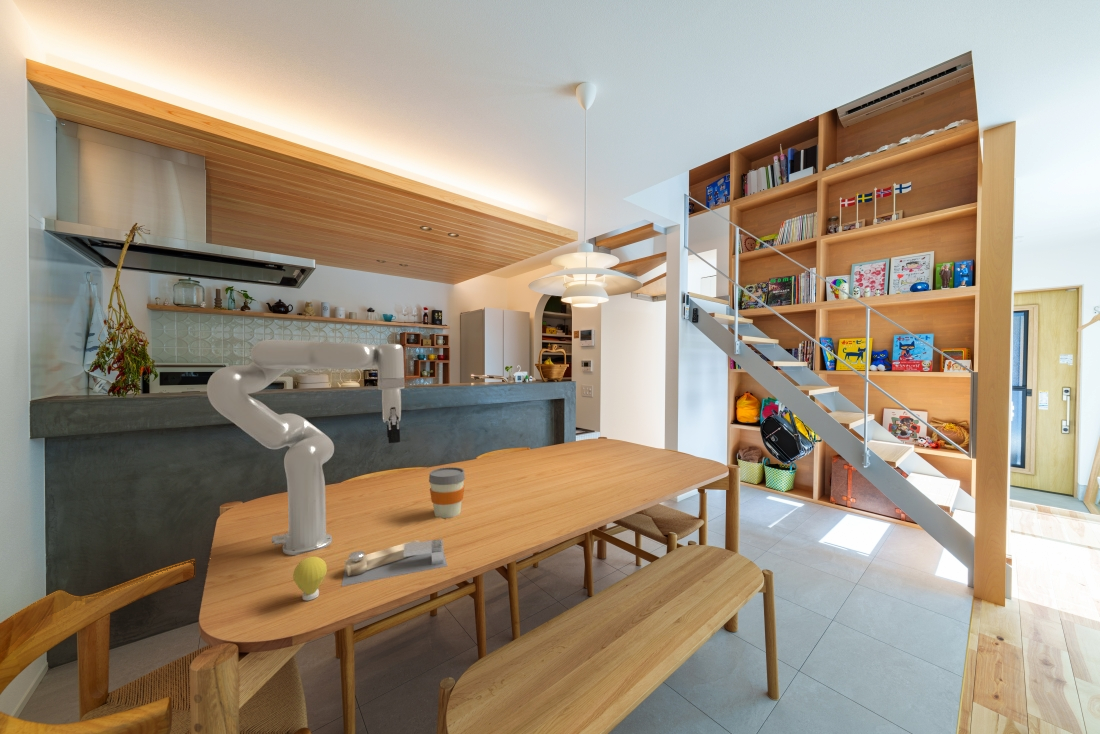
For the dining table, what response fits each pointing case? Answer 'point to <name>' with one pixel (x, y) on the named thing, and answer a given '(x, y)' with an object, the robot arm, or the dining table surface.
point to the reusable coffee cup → (447, 491)
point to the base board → (395, 569)
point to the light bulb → (310, 576)
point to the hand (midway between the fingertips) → (393, 439)
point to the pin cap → (356, 556)
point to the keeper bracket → (426, 549)
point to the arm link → (376, 559)
